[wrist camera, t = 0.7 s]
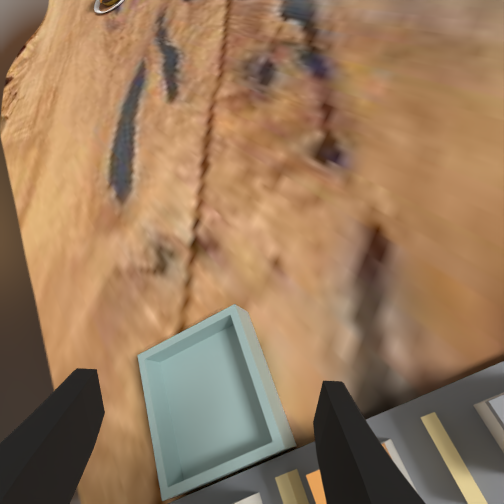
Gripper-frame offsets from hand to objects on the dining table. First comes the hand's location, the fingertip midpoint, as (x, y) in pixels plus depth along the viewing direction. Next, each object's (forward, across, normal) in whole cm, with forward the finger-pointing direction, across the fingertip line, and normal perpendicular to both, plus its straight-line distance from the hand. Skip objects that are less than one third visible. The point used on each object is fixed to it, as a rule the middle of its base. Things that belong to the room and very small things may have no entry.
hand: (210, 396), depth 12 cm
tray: (+11, 0, +13) cm, 17 cm away
